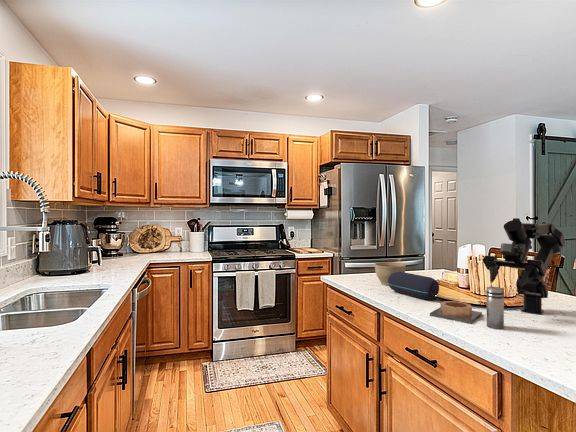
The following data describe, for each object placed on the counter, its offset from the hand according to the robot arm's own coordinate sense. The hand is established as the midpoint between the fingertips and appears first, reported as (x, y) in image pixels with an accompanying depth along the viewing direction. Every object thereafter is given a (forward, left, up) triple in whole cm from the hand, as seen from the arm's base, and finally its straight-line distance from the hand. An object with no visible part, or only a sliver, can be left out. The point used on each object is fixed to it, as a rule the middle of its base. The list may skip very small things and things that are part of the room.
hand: (505, 283), depth 120 cm
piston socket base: (+2, -16, -13) cm, 21 cm away
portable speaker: (-17, -41, -14) cm, 46 cm away
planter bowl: (-34, -61, -14) cm, 71 cm away
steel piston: (+7, -2, -14) cm, 15 cm away
